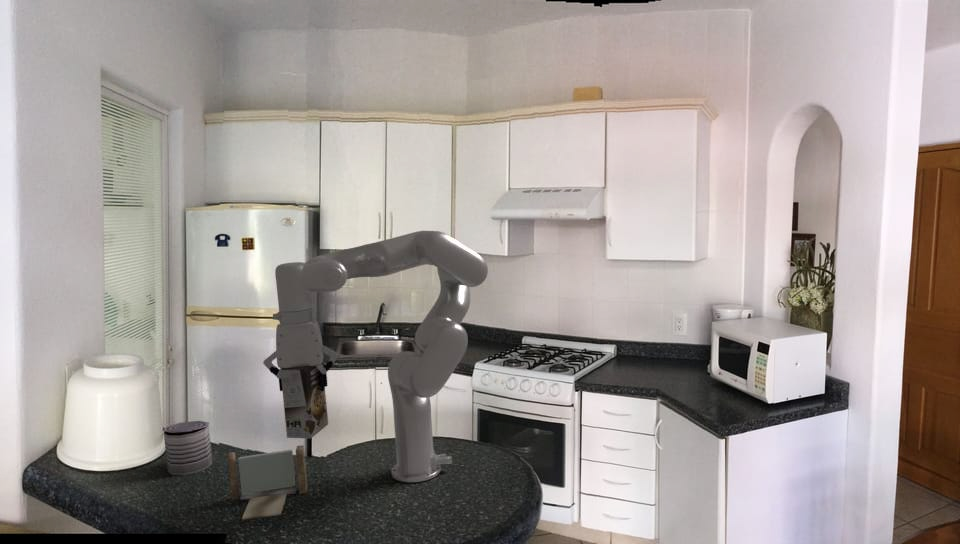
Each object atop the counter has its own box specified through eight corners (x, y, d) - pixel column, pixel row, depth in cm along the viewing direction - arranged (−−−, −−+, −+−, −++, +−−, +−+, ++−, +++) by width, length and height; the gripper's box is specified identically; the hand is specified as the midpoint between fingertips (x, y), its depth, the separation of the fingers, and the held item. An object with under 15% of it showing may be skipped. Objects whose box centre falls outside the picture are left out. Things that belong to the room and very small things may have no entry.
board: (287, 495, 156) (286, 493, 156) (280, 514, 146) (280, 513, 146) (250, 499, 155) (250, 497, 155) (242, 519, 145) (241, 517, 145)
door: (241, 494, 155) (238, 459, 154) (242, 492, 156) (238, 457, 155) (295, 486, 158) (292, 451, 157) (295, 483, 160) (292, 449, 159)
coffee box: (312, 439, 144) (305, 369, 142) (286, 438, 145) (278, 369, 143) (329, 424, 152) (323, 358, 150) (304, 423, 154) (298, 358, 152)
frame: (307, 487, 160) (303, 443, 158) (306, 492, 157) (302, 448, 155) (233, 496, 157) (229, 451, 156) (231, 501, 154) (226, 456, 153)
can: (158, 471, 174) (153, 429, 173) (194, 455, 184) (190, 415, 183) (185, 478, 169) (181, 434, 167) (221, 461, 179) (217, 420, 177)
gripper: (254, 323, 140) (262, 400, 143) (335, 316, 143) (341, 392, 145) (260, 317, 148) (268, 391, 150) (337, 310, 150) (343, 383, 153)
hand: (304, 391), depth 148 cm, fingers closed on coffee box, 7 cm apart
